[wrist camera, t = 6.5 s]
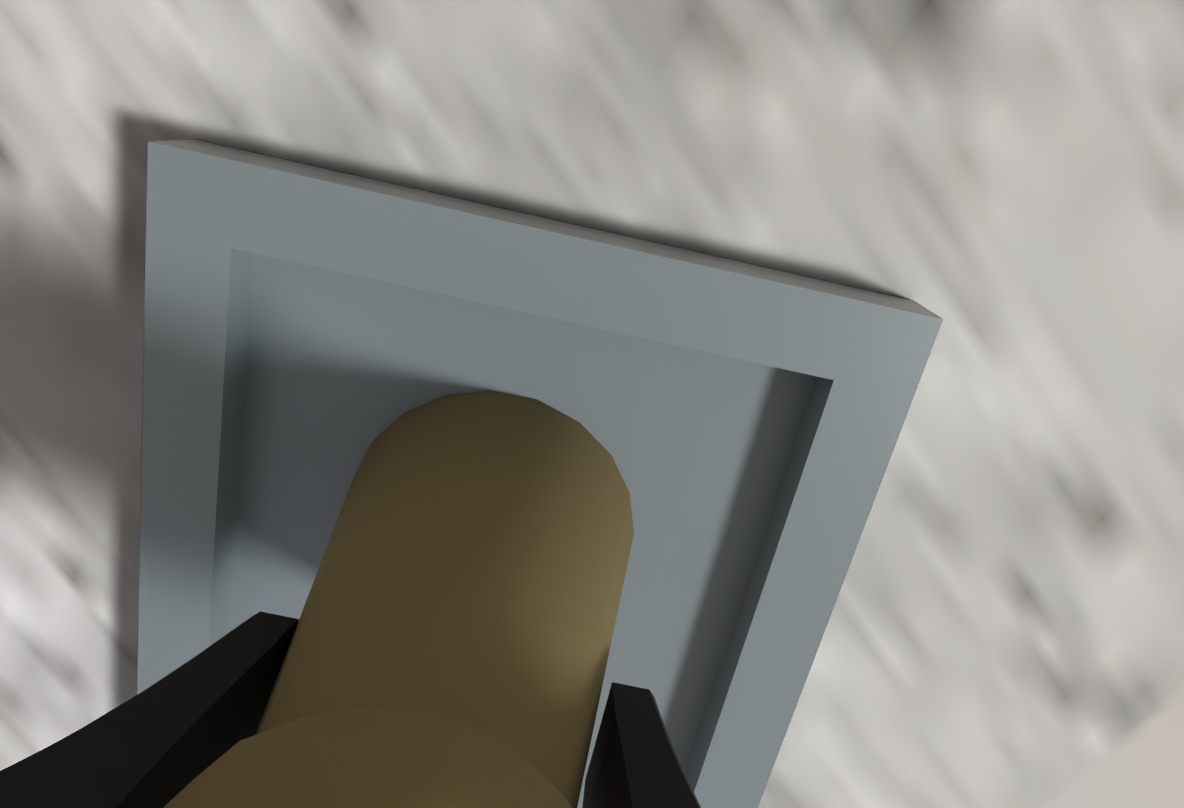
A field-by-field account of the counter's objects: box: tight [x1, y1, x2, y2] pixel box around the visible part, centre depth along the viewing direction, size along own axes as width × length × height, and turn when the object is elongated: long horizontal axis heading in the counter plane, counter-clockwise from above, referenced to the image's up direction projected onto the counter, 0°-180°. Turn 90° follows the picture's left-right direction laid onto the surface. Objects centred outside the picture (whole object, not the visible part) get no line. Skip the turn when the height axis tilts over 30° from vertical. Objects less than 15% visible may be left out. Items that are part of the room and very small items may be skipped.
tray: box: [137, 139, 943, 808], centre depth 18 cm, size 20×14×2 cm
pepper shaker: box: [163, 391, 634, 808], centre depth 12 cm, size 6×6×11 cm
